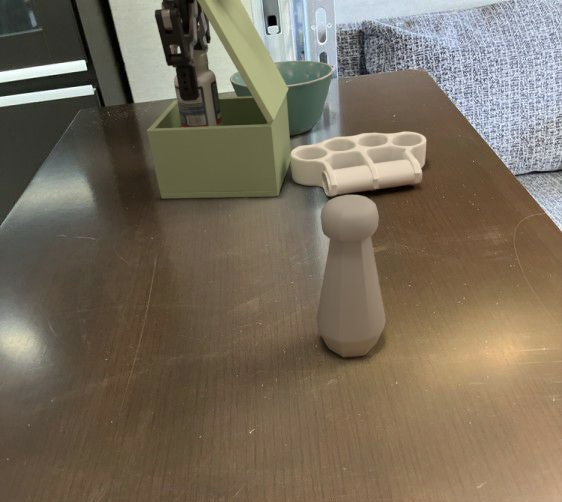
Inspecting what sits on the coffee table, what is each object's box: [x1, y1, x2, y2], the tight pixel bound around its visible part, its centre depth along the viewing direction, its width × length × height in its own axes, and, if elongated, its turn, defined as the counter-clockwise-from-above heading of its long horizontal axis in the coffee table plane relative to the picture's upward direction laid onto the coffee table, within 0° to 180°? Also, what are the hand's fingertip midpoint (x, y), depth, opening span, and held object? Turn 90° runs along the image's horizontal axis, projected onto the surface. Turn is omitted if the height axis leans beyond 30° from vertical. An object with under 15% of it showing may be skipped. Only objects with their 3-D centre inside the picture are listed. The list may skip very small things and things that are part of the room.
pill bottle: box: [173, 50, 222, 127], centre depth 79 cm, size 5×5×9 cm
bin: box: [146, 95, 292, 200], centre depth 82 cm, size 16×13×9 cm
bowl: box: [229, 60, 334, 137], centre depth 97 cm, size 16×16×8 cm
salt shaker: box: [316, 194, 387, 358], centre depth 50 cm, size 6×6×13 cm
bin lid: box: [197, 0, 288, 123], centre depth 73 cm, size 16×13×5 cm
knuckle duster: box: [290, 130, 427, 198], centre depth 81 cm, size 3×18×15 cm
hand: (196, 91), depth 79 cm, fingers closed on pill bottle, 5 cm apart
